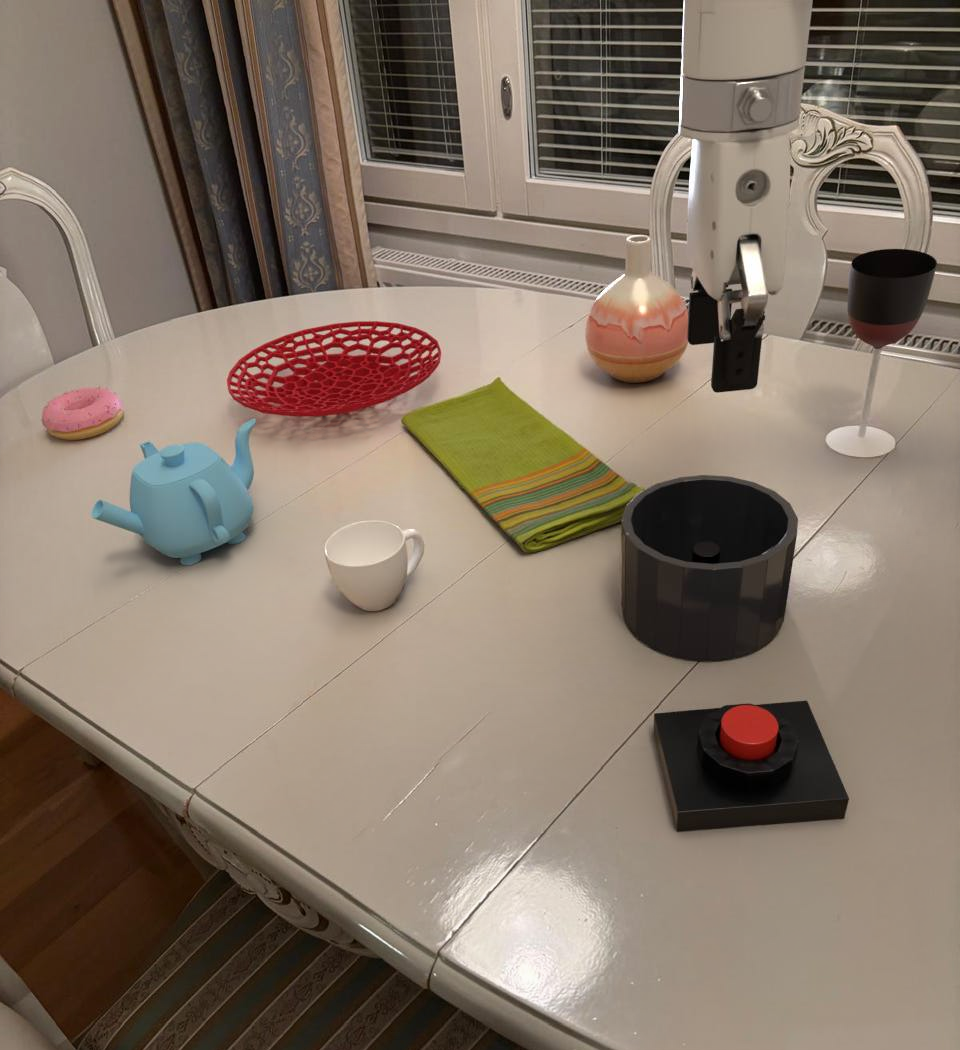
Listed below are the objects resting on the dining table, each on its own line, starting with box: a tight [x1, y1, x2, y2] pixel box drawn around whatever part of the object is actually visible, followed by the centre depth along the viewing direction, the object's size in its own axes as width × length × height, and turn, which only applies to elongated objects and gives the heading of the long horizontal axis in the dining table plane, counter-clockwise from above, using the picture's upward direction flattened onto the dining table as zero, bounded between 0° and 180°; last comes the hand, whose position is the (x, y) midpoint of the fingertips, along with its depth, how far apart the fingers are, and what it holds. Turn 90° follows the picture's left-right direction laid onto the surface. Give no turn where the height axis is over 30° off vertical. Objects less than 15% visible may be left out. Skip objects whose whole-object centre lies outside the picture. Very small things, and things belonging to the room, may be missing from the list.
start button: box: [720, 705, 779, 760], centre depth 67 cm, size 4×4×2 cm
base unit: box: [652, 700, 850, 832], centre depth 68 cm, size 12×10×4 cm
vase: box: [584, 234, 689, 384], centre depth 119 cm, size 14×14×18 cm
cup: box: [323, 519, 425, 612], centre depth 89 cm, size 8×10×7 cm
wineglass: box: [825, 248, 938, 458], centre depth 99 cm, size 8×9×20 cm
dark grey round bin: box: [620, 474, 799, 663], centre depth 82 cm, size 15×15×10 cm
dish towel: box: [400, 376, 645, 553], centre depth 107 cm, size 15×36×3 cm, turn 25°
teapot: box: [91, 418, 257, 566], centre depth 99 cm, size 15×14×11 cm
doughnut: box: [40, 386, 124, 441], centre depth 127 cm, size 11×11×4 cm
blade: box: [692, 541, 720, 564], centre depth 82 cm, size 10×3×6 cm, turn 91°
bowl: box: [226, 320, 442, 418], centre depth 126 cm, size 29×29×5 cm
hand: (720, 363), depth 69 cm, fingers open, 8 cm apart
